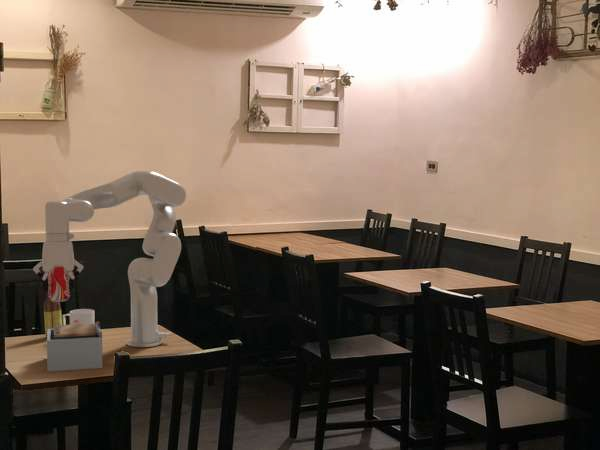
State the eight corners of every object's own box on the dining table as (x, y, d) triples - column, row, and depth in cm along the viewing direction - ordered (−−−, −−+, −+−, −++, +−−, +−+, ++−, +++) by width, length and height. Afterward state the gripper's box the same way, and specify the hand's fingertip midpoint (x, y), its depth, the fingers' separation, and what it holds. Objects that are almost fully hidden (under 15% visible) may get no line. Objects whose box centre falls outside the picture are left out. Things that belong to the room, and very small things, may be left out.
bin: (99, 354, 275) (99, 321, 274) (102, 367, 257) (102, 332, 257) (48, 358, 270) (47, 324, 269) (47, 371, 253) (46, 335, 252)
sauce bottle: (63, 335, 305) (62, 283, 303) (61, 338, 299) (60, 286, 297) (45, 335, 304) (44, 284, 302) (43, 339, 298) (42, 286, 296)
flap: (94, 325, 272) (94, 322, 272) (96, 335, 257) (96, 331, 257) (54, 327, 268) (54, 324, 268) (54, 337, 254) (54, 333, 254)
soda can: (63, 302, 261) (62, 266, 260) (43, 301, 263) (43, 265, 262) (74, 299, 268) (73, 263, 267) (55, 298, 270) (54, 263, 269)
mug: (98, 338, 299) (98, 309, 299) (88, 344, 291) (88, 314, 290) (69, 337, 302) (68, 308, 301) (57, 342, 293) (57, 312, 292)
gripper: (84, 236, 270) (86, 288, 271) (30, 237, 265) (32, 290, 267) (84, 238, 262) (85, 291, 264) (29, 239, 258) (30, 294, 260)
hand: (58, 290), depth 265 cm, fingers closed on soda can, 7 cm apart
